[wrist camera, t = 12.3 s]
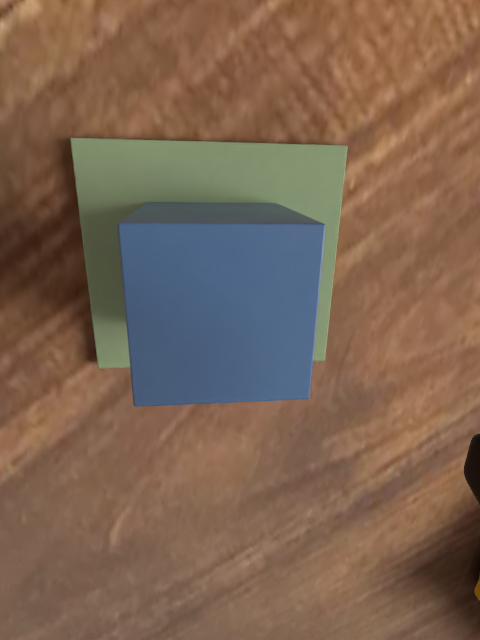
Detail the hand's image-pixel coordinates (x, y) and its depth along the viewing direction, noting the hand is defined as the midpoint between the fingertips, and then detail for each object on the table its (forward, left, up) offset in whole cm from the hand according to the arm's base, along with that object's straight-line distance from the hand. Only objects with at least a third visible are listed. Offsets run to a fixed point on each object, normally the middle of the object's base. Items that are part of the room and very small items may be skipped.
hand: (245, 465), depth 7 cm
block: (0, +1, -10) cm, 10 cm away
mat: (0, +2, -10) cm, 10 cm away
